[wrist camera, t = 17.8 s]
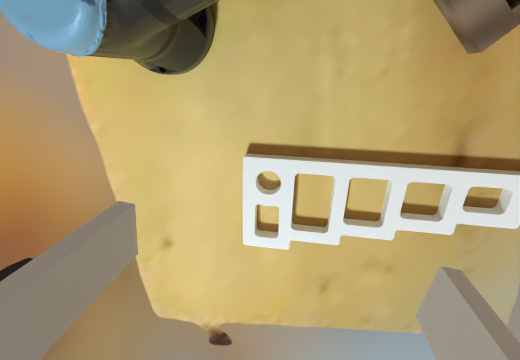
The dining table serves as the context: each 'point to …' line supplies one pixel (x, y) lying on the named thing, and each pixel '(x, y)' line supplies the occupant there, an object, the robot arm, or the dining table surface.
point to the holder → (399, 176)
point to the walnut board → (480, 20)
